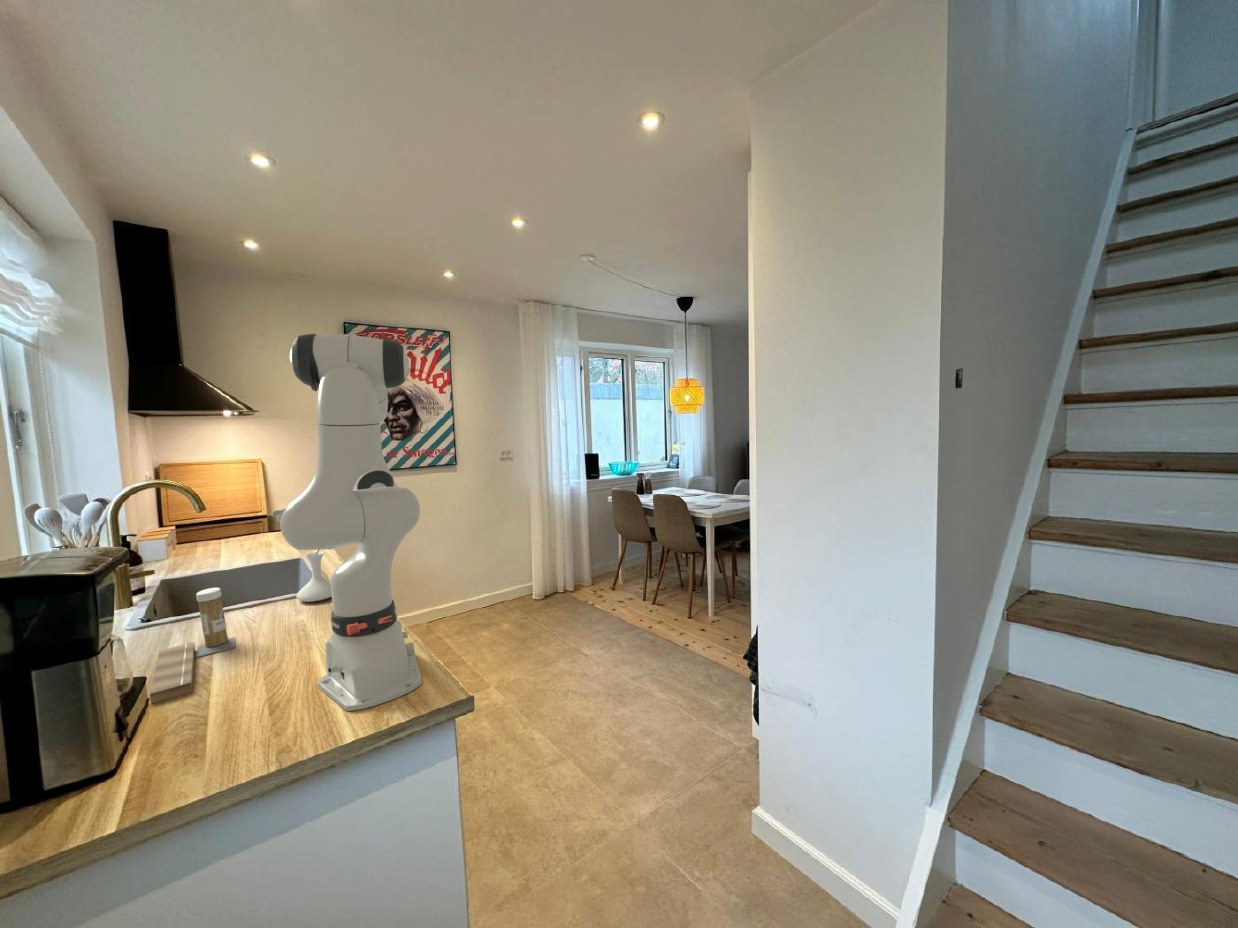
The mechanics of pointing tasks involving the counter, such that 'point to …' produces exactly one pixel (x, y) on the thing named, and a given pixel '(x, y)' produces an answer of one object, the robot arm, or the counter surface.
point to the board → (173, 673)
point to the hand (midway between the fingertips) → (274, 516)
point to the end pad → (216, 648)
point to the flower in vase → (315, 581)
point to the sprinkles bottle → (212, 616)
